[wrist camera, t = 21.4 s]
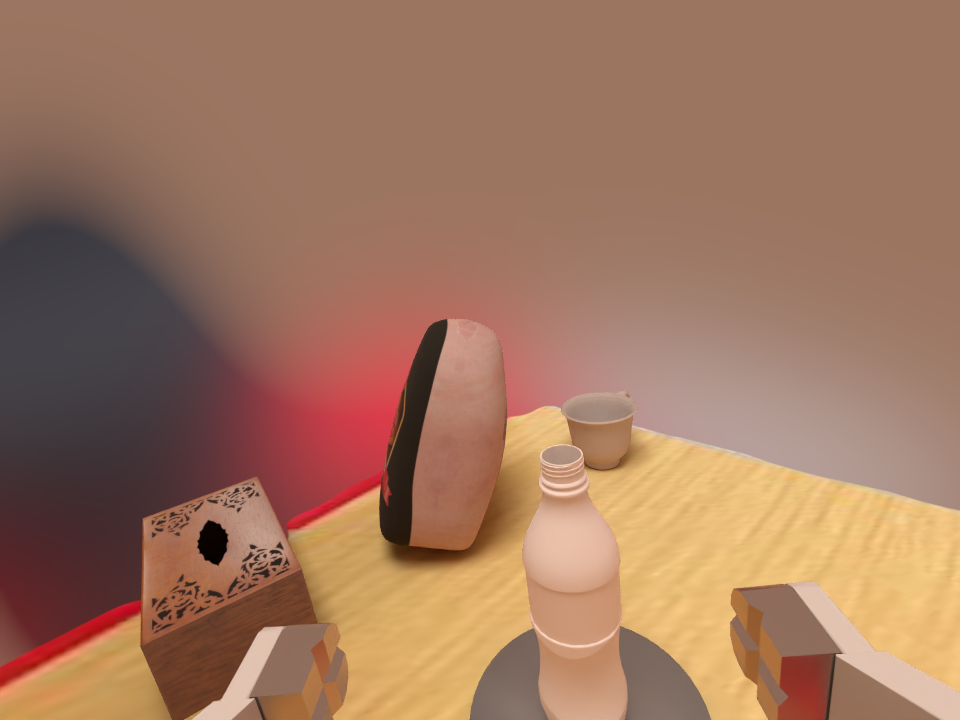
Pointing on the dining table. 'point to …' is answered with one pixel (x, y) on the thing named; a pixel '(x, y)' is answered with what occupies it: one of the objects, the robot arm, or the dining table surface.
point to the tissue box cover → (214, 591)
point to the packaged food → (446, 439)
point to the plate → (648, 670)
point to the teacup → (601, 426)
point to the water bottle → (574, 595)
